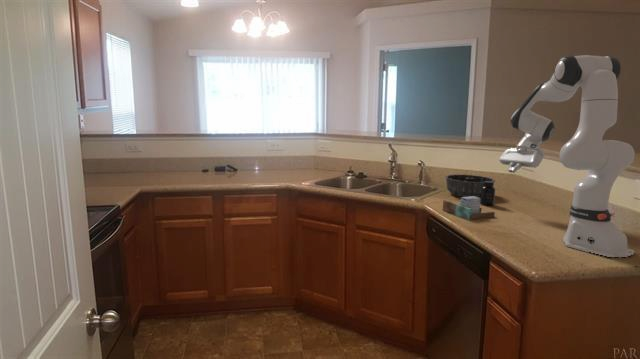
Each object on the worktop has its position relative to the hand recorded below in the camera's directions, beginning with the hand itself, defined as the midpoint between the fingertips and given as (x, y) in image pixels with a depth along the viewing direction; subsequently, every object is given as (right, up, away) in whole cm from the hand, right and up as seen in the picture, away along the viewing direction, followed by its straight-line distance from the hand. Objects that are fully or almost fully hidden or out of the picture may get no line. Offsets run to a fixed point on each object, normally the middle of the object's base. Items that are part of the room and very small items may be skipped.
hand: (511, 171), depth 200 cm
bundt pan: (-5, -13, +42) cm, 45 cm away
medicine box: (-21, -21, -2) cm, 29 cm away
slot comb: (-20, -20, +1) cm, 28 cm away
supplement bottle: (-4, -17, +20) cm, 26 cm away
